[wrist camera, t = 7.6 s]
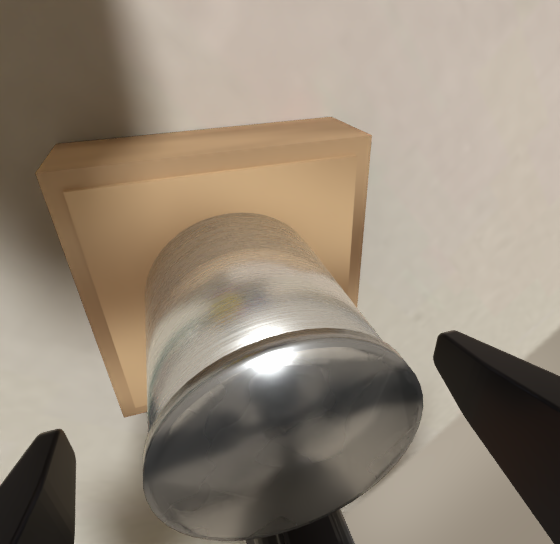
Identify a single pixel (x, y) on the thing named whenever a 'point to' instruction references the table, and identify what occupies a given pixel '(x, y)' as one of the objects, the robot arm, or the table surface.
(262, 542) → the robot arm
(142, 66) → the table surface
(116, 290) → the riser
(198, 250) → the tin
